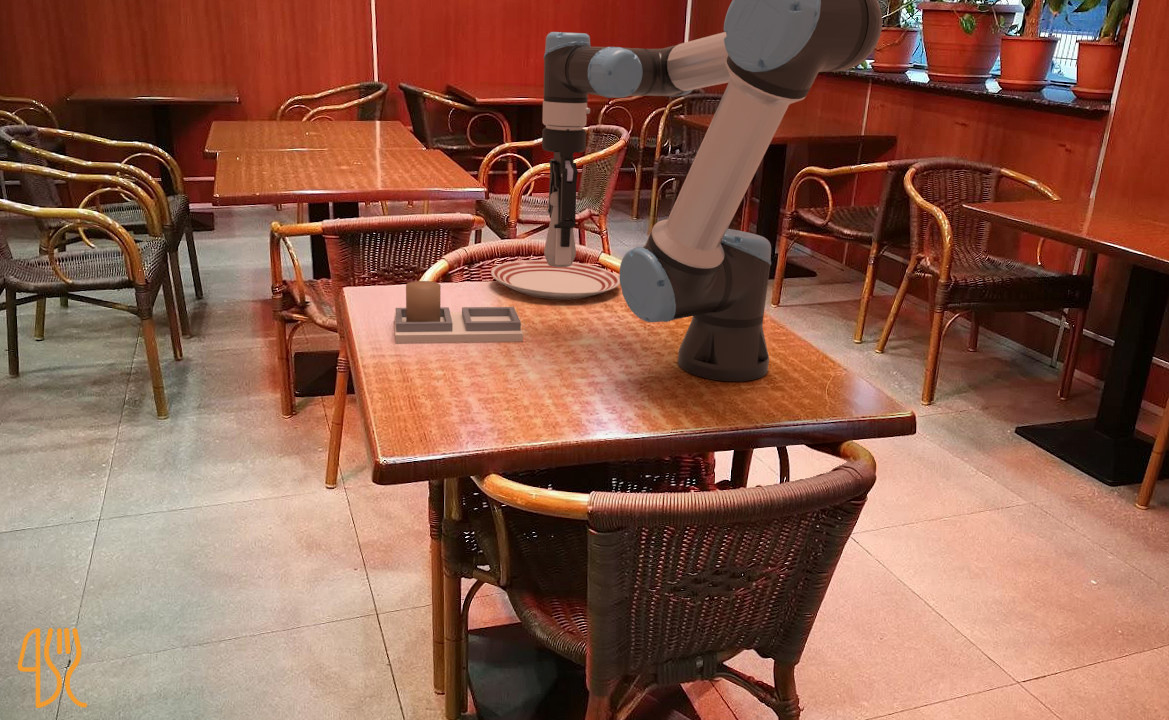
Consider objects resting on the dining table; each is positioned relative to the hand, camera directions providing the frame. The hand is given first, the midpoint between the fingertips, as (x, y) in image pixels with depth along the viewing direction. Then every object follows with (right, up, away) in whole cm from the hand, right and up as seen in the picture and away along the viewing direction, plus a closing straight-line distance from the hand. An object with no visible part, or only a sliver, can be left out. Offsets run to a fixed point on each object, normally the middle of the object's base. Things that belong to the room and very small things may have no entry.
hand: (559, 259), depth 169 cm
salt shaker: (0, -1, 0) cm, 1 cm away
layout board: (-18, -13, +1) cm, 22 cm away
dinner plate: (-2, -3, +33) cm, 33 cm away
